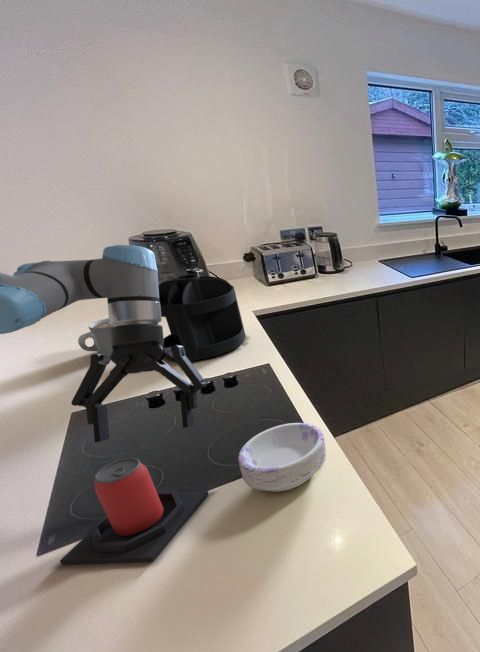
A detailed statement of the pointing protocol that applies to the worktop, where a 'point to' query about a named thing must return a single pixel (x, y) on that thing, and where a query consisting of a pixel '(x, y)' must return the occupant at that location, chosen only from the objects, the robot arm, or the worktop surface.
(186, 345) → the container
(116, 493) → the beer can
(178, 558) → the worktop surface
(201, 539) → the worktop surface
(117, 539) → the dock pad
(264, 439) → the white round bowl
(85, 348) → the coffee mug
